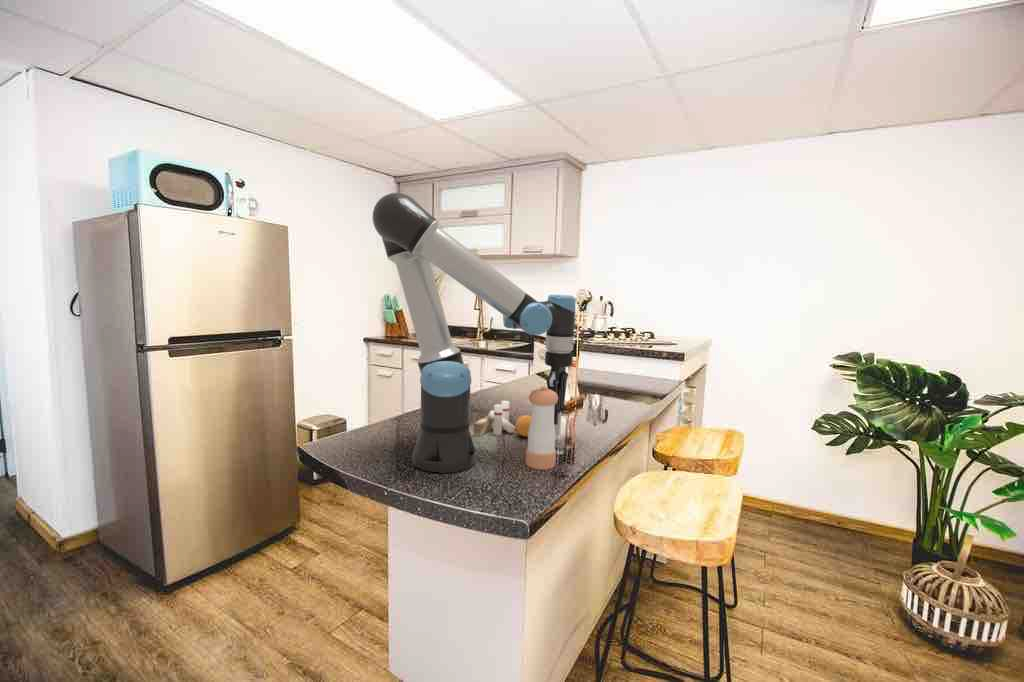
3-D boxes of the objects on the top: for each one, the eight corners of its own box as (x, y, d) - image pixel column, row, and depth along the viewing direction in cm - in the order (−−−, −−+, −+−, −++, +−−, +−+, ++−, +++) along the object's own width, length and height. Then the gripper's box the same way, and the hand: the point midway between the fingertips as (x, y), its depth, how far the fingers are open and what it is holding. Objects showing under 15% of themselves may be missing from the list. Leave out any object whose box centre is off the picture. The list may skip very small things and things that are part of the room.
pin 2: (503, 431, 132) (504, 403, 131) (498, 428, 134) (499, 401, 133) (510, 429, 133) (511, 402, 132) (505, 427, 135) (506, 400, 134)
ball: (514, 421, 124) (522, 441, 124) (534, 412, 125) (541, 432, 125) (510, 419, 130) (518, 438, 130) (529, 411, 131) (536, 430, 131)
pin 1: (495, 435, 127) (496, 407, 126) (491, 433, 129) (492, 404, 128) (503, 434, 128) (504, 406, 127) (498, 432, 131) (499, 403, 130)
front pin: (511, 431, 128) (487, 414, 130) (509, 435, 130) (486, 418, 132) (516, 425, 129) (492, 408, 132) (514, 429, 131) (491, 412, 134)
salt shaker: (519, 464, 107) (522, 386, 105) (536, 455, 113) (539, 382, 111) (544, 472, 103) (548, 391, 101) (561, 463, 109) (565, 386, 107)
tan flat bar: (479, 436, 126) (479, 424, 126) (473, 435, 127) (473, 423, 126) (499, 423, 139) (500, 412, 138) (494, 422, 140) (494, 411, 139)
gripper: (565, 355, 114) (561, 443, 117) (578, 349, 126) (573, 429, 129) (538, 352, 117) (534, 439, 120) (553, 347, 129) (549, 426, 132)
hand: (554, 434), depth 125 cm, fingers closed
